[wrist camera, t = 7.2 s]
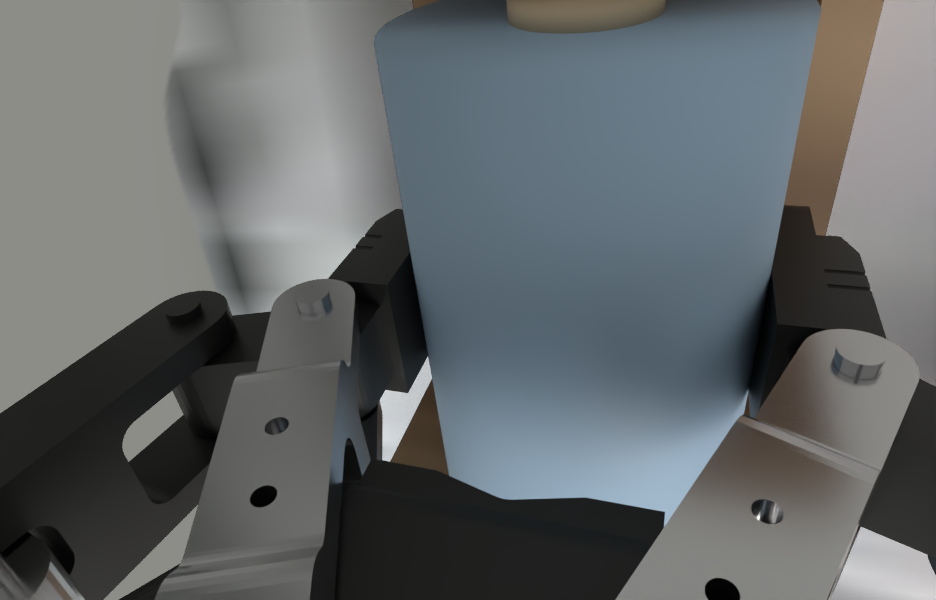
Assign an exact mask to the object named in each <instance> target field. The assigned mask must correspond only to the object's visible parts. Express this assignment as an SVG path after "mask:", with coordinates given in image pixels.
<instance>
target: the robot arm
mask: <svg viewBox="0 0 936 600" xmlns="http://www.w3.org/2000/svg"><path fill="white" fill-rule="evenodd" d="M427 356H428V351H427V345H426V340H425V334H424V328H423V322H422V317H421V311H420V305H419V299H418V294H417V288H416V282H415V276H414V271H413V265H412V259H411V253H410V247H409V242H408V236H407V230H406V224H405V219H404V213H403V209H396V210H394V211H392V212H390V213H389V214H387V215H385V216H384V217H382V218H380V219H379V220H377V221H376V222H375V223H374V224H373V226H372V227H371V228H370V229H369V230H368V232H367V233H366V234H365V237H363V238H362V239H361V240H360V241H359V242H358V244H357V245H356V249H354V248H353V250H352V251H351V252H350V253H349V254H348V256H347V257H346V258H345V259H344V260H343V262H342V263H341V264H340V265H339V266H338V268H337V269H336V270H335V271H334V272H333V273H332V275H331V276H330V277H329V278H328V279H317V280H312V281H307V282H304V283H301V284H298V285H296V286H294V287H292V288H290V289H288V290H286V291H285V292H284V293H282V294H281V295H280V296H279V297H278V298H277V299H276V301H275V302H274V304H273V306H272V310H271V312H263V313H254V314H244V315H235V316H232V314H231V311H230V308H229V306H228V303H227V300H226V298H225V297H224V296H223V295H221V294H219V293H216V292H212V291H195V292H189V293H185V294H181V295H178V296H175V297H173V298H170V299H169V300H166V301H164V302H163V303H161V304H159V305H158V306H156V307H155V308H153V309H152V310H150V311H149V312H147V313H146V314H144V315H143V316H142V317H140V318H139V319H137V320H136V321H134V322H133V323H131V324H130V325H129V326H127V327H125V328H124V329H123V330H121V331H120V332H118V333H117V334H115V335H114V336H112V337H111V338H109V339H108V340H107V341H105V342H104V343H102V344H101V345H99V346H98V347H96V348H95V349H94V350H92V351H91V352H89V353H88V354H86V355H85V356H83V357H82V358H81V359H79V360H77V361H76V362H75V363H73V364H72V365H70V366H69V367H67V368H66V369H64V370H63V371H61V372H60V373H59V374H57V375H56V376H54V377H53V378H51V379H50V380H48V381H47V382H46V383H44V384H43V385H41V386H40V387H38V388H37V389H35V390H34V391H32V392H31V393H30V394H28V395H27V396H25V397H24V398H23V399H21V400H19V401H18V402H16V403H15V404H13V405H12V406H11V407H9V408H8V409H6V410H5V411H3V412H2V413H0V600H103V599H104V598H105V597H106V596H107V595H108V594H109V593H110V592H111V591H112V590H113V589H114V588H115V587H116V586H117V585H118V584H119V583H120V582H121V581H122V580H123V579H124V578H125V577H126V576H127V575H128V574H129V573H130V572H131V571H132V570H133V569H134V568H135V567H136V566H137V565H138V564H139V563H140V562H141V561H142V560H143V559H144V558H145V557H146V556H147V555H148V554H149V553H150V552H151V551H152V550H153V549H154V548H155V547H156V546H157V545H158V544H159V543H160V542H161V541H162V540H163V539H164V538H165V537H166V536H167V535H168V534H169V533H170V532H171V531H172V530H173V529H174V528H175V527H176V526H177V525H178V524H179V523H180V522H181V521H182V520H183V519H184V518H185V517H186V516H187V515H188V514H189V513H190V512H191V511H192V510H193V509H194V507H196V506H197V505H198V507H197V511H196V514H195V518H194V521H193V525H192V528H191V532H190V535H189V539H188V542H187V546H186V549H185V553H184V556H183V559H182V561H181V563H180V564H179V565H177V566H175V567H174V568H172V569H170V570H168V571H167V572H165V573H163V574H162V575H160V576H158V577H157V578H155V579H153V580H151V581H150V582H148V583H146V584H145V585H143V586H141V587H140V588H138V589H136V590H134V591H133V592H131V593H130V594H128V595H126V596H124V597H123V598H121V599H119V600H830V599H831V597H832V595H833V592H834V590H835V587H836V585H837V583H838V580H839V578H840V575H841V573H842V571H843V568H844V566H845V563H846V561H847V559H848V556H849V554H850V551H851V549H852V547H853V544H854V542H855V540H856V537H857V535H858V532H859V530H860V528H861V527H864V528H866V529H868V530H871V531H873V532H876V533H878V534H880V535H883V536H885V537H887V538H890V539H892V540H895V541H897V542H899V543H902V544H904V545H906V546H909V547H911V548H914V549H916V550H918V551H921V552H923V553H925V554H928V559H929V561H930V564H931V566H932V568H933V570H934V572H935V574H936V387H935V386H933V385H930V384H928V383H927V382H925V381H923V380H921V379H919V378H920V371H919V368H918V365H917V363H916V362H915V360H914V359H913V357H912V356H911V355H910V354H909V353H908V352H907V351H905V350H904V349H903V348H901V347H900V346H898V345H897V344H895V343H893V342H891V341H889V340H887V339H886V336H885V333H884V330H883V327H882V323H881V320H880V317H879V314H878V311H877V308H876V304H875V301H874V298H873V295H872V292H871V291H870V286H869V282H868V279H867V276H865V270H864V267H863V263H862V260H861V257H860V254H859V253H858V252H857V251H856V250H855V249H854V248H853V247H851V246H850V245H849V244H848V243H847V242H846V241H845V240H844V239H842V238H841V237H838V236H822V235H816V232H815V228H814V223H813V219H812V215H811V210H810V207H809V206H792V205H784V207H783V212H782V218H781V223H780V228H779V233H778V238H777V244H776V249H775V254H774V259H773V265H772V270H771V275H770V280H769V286H768V291H767V296H766V301H765V307H764V312H763V317H762V322H761V327H760V333H759V338H758V343H757V348H756V354H755V359H754V364H753V369H752V374H751V379H750V385H749V410H750V417H749V416H747V415H741V416H740V417H739V418H738V419H737V420H736V422H735V423H734V424H733V426H732V427H731V429H730V430H729V432H728V433H727V435H726V436H725V438H724V439H723V441H722V442H721V444H720V445H719V447H718V448H717V450H716V451H715V452H714V454H713V455H712V457H711V458H710V460H709V461H708V463H707V464H706V466H705V467H704V469H703V470H702V472H701V473H700V475H699V476H698V478H697V479H696V481H695V482H694V484H693V485H692V487H691V488H690V490H689V491H688V493H687V494H686V496H685V497H684V499H683V500H682V502H681V503H680V504H679V506H678V507H677V509H676V510H675V512H674V513H673V515H672V516H671V518H670V519H669V521H668V522H667V524H666V525H665V527H664V519H665V512H663V511H657V510H652V509H646V508H641V507H635V506H630V505H624V504H619V503H613V502H608V501H602V500H597V499H591V498H586V497H584V498H550V499H517V500H509V499H502V498H499V497H496V496H494V495H491V494H489V493H487V492H485V491H482V490H480V489H478V488H475V487H473V486H471V485H469V484H466V483H464V482H462V481H460V480H457V479H455V478H453V477H451V476H448V475H446V474H444V473H442V472H439V471H437V470H432V469H427V468H421V467H416V466H410V465H405V464H399V463H394V462H388V461H383V460H382V409H381V405H380V398H381V396H382V395H383V393H384V391H385V390H391V391H398V392H405V393H408V392H409V390H410V388H411V386H412V385H413V383H414V381H415V379H416V377H417V375H418V373H419V371H420V370H421V368H422V366H423V364H424V362H425V360H426V358H427ZM171 391H173V393H174V395H175V397H176V399H177V401H178V403H179V406H180V408H181V410H182V412H183V414H184V415H183V416H182V417H181V418H179V419H178V420H177V421H176V422H175V423H174V424H172V425H171V426H170V427H169V428H168V429H167V430H165V431H164V432H163V433H162V434H161V435H160V436H158V437H157V438H156V439H155V440H154V441H153V442H152V443H150V444H149V445H148V446H147V447H146V448H145V449H143V450H142V451H141V452H140V453H139V454H138V455H136V456H135V457H134V458H133V459H132V460H131V461H130V462H128V461H127V459H126V457H125V455H124V453H123V449H122V442H123V438H124V435H125V433H126V431H127V429H128V428H129V426H130V425H131V424H132V423H133V422H134V421H135V420H136V419H138V418H139V417H140V416H141V415H143V414H144V413H145V412H146V411H147V410H149V409H150V408H151V407H152V406H153V405H155V404H156V403H157V402H158V401H160V400H161V399H162V398H163V397H165V396H166V395H167V394H168V393H170V392H171Z"/></svg>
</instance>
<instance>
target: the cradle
mask: <svg viewBox="0 0 936 600" xmlns="http://www.w3.org/2000/svg"><path fill="white" fill-rule="evenodd" d="M412 1H413V9H417V8H419V7H422V6H424V5H427V4H431V3H434V2H437V1H440V0H412ZM817 1H818V3H819V5H820V7H821V13H820V19H819V24H818V29H817V34H816V40H815V45H814V50H813V55H812V61H811V66H810V71H809V76H808V81H807V87H806V92H805V97H804V102H803V108H802V113H801V118H800V123H799V129H798V134H797V139H796V144H795V150H794V155H793V160H792V165H791V170H790V176H789V181H788V186H787V191H786V197H785V202H784V205H792V206H809V207H810V210H811V215H812V219H813V223H814V228H815V232H816V235H822V236H825V235H826V231H827V227H828V223H829V219H830V215H831V211H832V207H833V203H834V199H835V195H836V191H837V187H838V183H839V179H840V175H841V171H842V167H843V163H844V159H845V155H846V151H847V147H848V143H849V139H850V135H851V130H852V126H853V122H854V118H855V114H856V110H857V106H858V102H859V98H860V94H861V90H862V86H863V82H864V78H865V74H866V70H867V66H868V62H869V58H870V54H871V50H872V46H873V42H874V38H875V34H876V30H877V26H878V22H879V18H880V14H881V10H882V6H883V2H884V0H817ZM744 415H747V416H749V417H750V410H749V390H748V395H747V401H746V406H745V411H744ZM390 462H394V463H399V464H405V465H410V466H416V467H421V468H427V469H432V470H437V471H439V472H442V473H444V474H446V475H448V476H449V472H448V466H447V461H446V455H445V449H444V443H443V438H442V432H441V426H440V420H439V415H438V409H437V403H436V397H435V392H434V386H433V380H431V382H430V384H429V386H428V388H427V390H426V392H425V394H424V396H423V398H422V400H421V402H420V404H419V406H418V408H417V410H416V412H415V414H414V416H413V418H412V420H411V422H410V424H409V426H408V428H407V430H406V432H405V434H404V436H403V438H402V440H401V442H400V443H399V445H398V447H397V449H396V451H395V453H394V455H393V457H392V459H391V461H390Z"/></svg>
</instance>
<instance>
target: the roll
mask: <svg viewBox="0 0 936 600" xmlns="http://www.w3.org/2000/svg"><path fill="white" fill-rule="evenodd" d="M820 13H821V7H820V5H819V3H818V1H817V0H440V1H437V2H434V3H431V4H427V5H424V6H422V7H419V8H417V9H414V10H411V11H409V12H407V13H405V14H403V15H401V16H399V17H397V18H395V19H393V20H392V21H390V22H388V23H387V24H386V25H384V26H383V27H382V28H381V29H380V30H379V31H378V33H377V34H376V36H375V40H374V46H375V52H376V57H377V63H378V69H379V75H380V80H381V86H382V92H383V98H384V103H385V109H386V115H387V121H388V126H389V132H390V138H391V144H392V150H393V155H394V161H395V167H396V173H397V178H398V184H399V190H400V196H401V201H402V207H403V213H404V219H405V224H406V230H407V236H408V242H409V247H410V253H411V259H412V265H413V271H414V276H415V282H416V288H417V294H418V299H419V305H420V311H421V317H422V322H423V328H424V334H425V340H426V345H427V351H428V357H429V363H430V369H431V374H432V380H433V386H434V392H435V397H436V403H437V409H438V415H439V420H440V426H441V432H442V438H443V443H444V449H445V455H446V461H447V466H448V472H449V476H451V477H453V478H455V479H457V480H460V481H462V482H464V483H466V484H469V485H471V486H473V487H475V488H478V489H480V490H482V491H485V492H487V493H489V494H491V495H494V496H496V497H499V498H502V499H509V500H517V499H550V498H584V497H586V498H591V499H597V500H602V501H608V502H613V503H619V504H624V505H630V506H635V507H641V508H646V509H652V510H657V511H663V512H665V519H664V527H665V525H666V524H667V522H668V521H669V519H670V518H671V516H672V515H673V513H674V512H675V510H676V509H677V507H678V506H679V504H680V503H681V502H682V500H683V499H684V497H685V496H686V494H687V493H688V491H689V490H690V488H691V487H692V485H693V484H694V482H695V481H696V479H697V478H698V476H699V475H700V473H701V472H702V470H703V469H704V467H705V466H706V464H707V463H708V461H709V460H710V458H711V457H712V455H713V454H714V452H715V451H716V450H717V448H718V447H719V445H720V444H721V442H722V441H723V439H724V438H725V436H726V435H727V433H728V432H729V430H730V429H731V427H732V426H733V424H734V423H735V422H736V420H737V419H738V418H739V417H740V416H741V415H744V411H745V406H746V401H747V395H748V390H749V385H750V379H751V374H752V369H753V364H754V359H755V354H756V348H757V343H758V338H759V333H760V327H761V322H762V317H763V312H764V307H765V301H766V296H767V291H768V286H769V280H770V275H771V270H772V265H773V259H774V254H775V249H776V244H777V238H778V233H779V228H780V223H781V218H782V212H783V207H784V202H785V197H786V191H787V186H788V181H789V176H790V170H791V165H792V160H793V155H794V150H795V144H796V139H797V134H798V129H799V123H800V118H801V113H802V108H803V102H804V97H805V92H806V87H807V81H808V76H809V71H810V66H811V61H812V55H813V50H814V45H815V40H816V34H817V29H818V24H819V19H820Z"/></svg>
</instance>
